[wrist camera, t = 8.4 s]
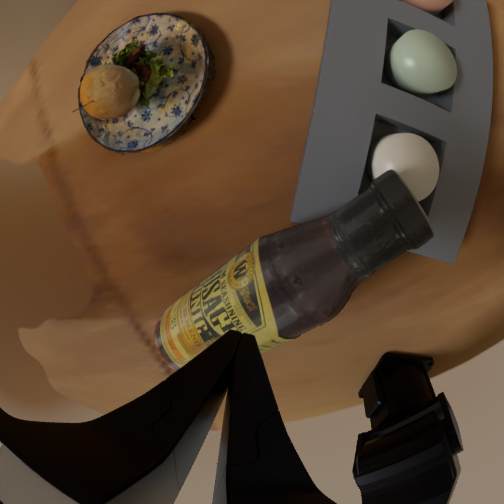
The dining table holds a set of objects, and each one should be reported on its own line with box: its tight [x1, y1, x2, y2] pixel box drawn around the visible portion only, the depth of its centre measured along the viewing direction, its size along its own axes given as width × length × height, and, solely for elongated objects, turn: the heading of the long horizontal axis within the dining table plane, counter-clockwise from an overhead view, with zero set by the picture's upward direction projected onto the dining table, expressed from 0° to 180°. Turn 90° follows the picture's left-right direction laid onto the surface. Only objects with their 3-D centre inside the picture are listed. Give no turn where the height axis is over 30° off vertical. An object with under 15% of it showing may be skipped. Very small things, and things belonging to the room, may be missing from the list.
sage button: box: [384, 29, 457, 97], centre depth 11 cm, size 4×4×3 cm
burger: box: [73, 13, 215, 154], centre depth 14 cm, size 12×12×8 cm
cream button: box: [366, 133, 439, 201], centre depth 14 cm, size 4×4×3 cm
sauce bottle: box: [154, 169, 434, 371], centre depth 17 cm, size 7×6×20 cm
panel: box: [290, 0, 493, 264], centre depth 12 cm, size 12×24×3 cm, turn 170°
